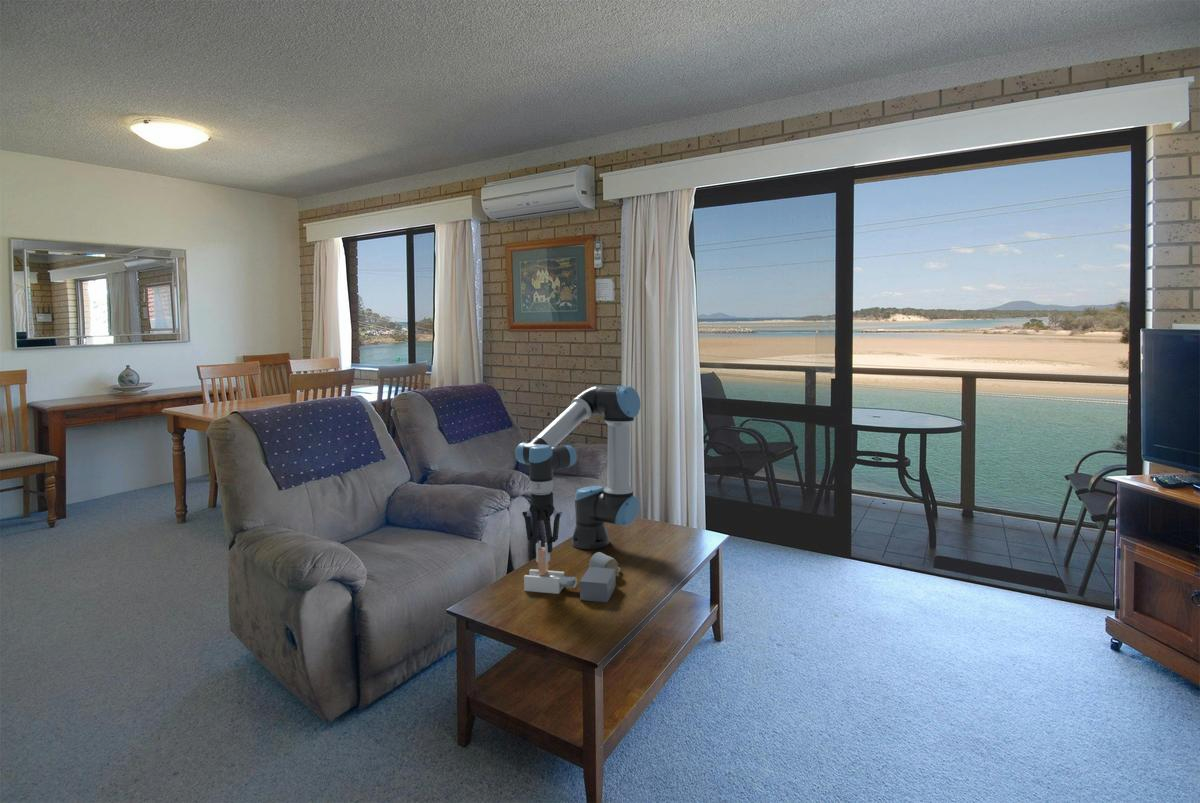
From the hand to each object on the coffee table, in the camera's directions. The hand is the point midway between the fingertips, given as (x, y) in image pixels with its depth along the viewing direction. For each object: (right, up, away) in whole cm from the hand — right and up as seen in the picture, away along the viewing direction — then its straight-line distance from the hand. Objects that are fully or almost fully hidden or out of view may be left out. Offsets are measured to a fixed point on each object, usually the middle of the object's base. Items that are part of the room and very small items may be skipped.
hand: (543, 560), depth 204 cm
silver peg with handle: (+3, -8, 0) cm, 9 cm away
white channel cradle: (0, -9, +1) cm, 10 cm away
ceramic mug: (+21, -8, +12) cm, 26 cm away
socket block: (+18, -10, -3) cm, 21 cm away
